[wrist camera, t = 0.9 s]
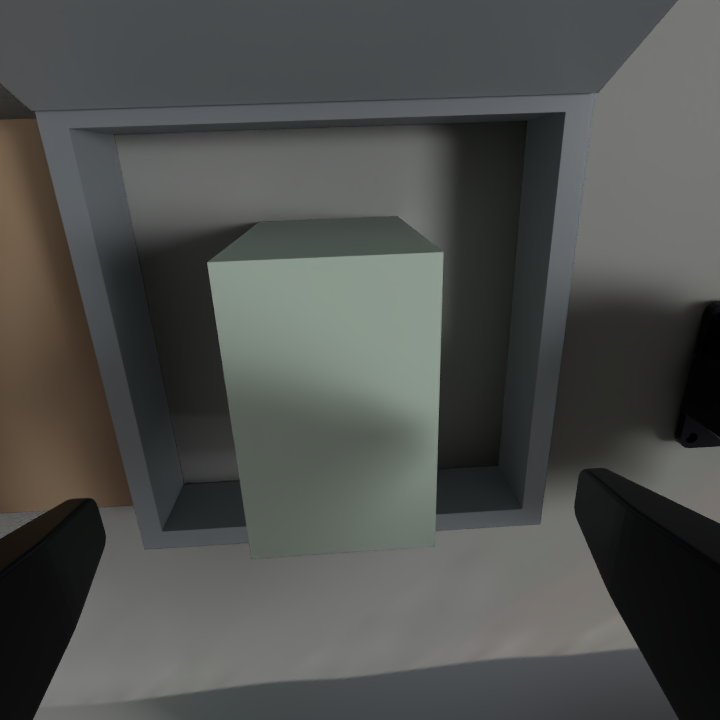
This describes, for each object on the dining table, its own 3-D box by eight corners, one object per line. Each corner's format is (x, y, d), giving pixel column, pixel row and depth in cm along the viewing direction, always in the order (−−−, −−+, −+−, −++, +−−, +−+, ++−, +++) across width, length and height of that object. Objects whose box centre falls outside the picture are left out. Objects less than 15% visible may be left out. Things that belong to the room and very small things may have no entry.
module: (396, 215, 18) (443, 251, 10) (398, 410, 21) (435, 546, 13) (259, 221, 18) (206, 262, 10) (280, 417, 21) (251, 558, 13)
